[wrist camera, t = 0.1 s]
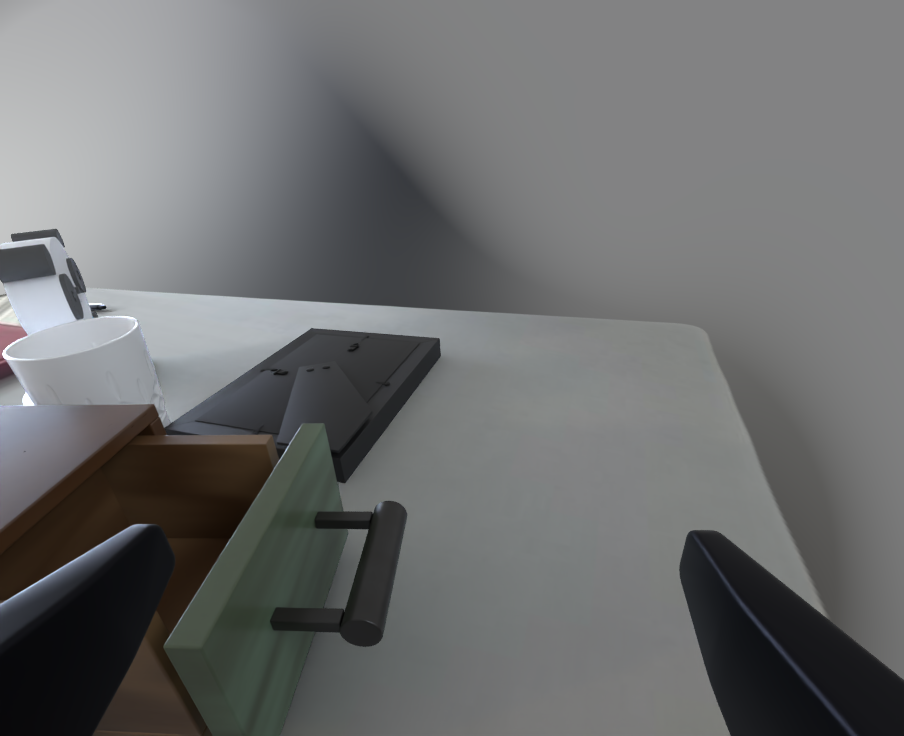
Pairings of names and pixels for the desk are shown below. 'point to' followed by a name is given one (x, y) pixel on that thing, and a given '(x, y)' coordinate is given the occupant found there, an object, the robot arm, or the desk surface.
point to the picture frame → (320, 392)
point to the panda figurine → (42, 282)
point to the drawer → (223, 573)
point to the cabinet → (58, 454)
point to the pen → (97, 306)
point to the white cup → (88, 365)
